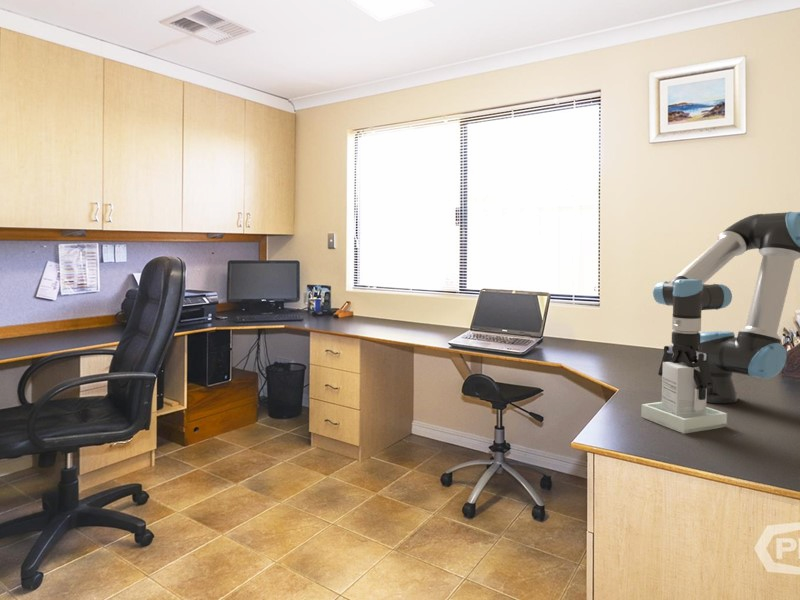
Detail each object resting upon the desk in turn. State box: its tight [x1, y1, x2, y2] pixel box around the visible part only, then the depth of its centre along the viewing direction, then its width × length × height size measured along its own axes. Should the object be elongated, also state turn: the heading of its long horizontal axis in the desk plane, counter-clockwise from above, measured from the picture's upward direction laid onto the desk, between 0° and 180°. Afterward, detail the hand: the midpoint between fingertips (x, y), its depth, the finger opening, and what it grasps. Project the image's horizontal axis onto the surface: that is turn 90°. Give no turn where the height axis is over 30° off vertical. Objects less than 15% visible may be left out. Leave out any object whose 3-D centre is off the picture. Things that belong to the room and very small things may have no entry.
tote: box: [640, 401, 728, 434], centre depth 160 cm, size 16×16×4 cm
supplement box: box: [661, 362, 707, 418], centre depth 159 cm, size 9×9×15 cm
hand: (683, 404), depth 159 cm, fingers closed on supplement box, 10 cm apart
